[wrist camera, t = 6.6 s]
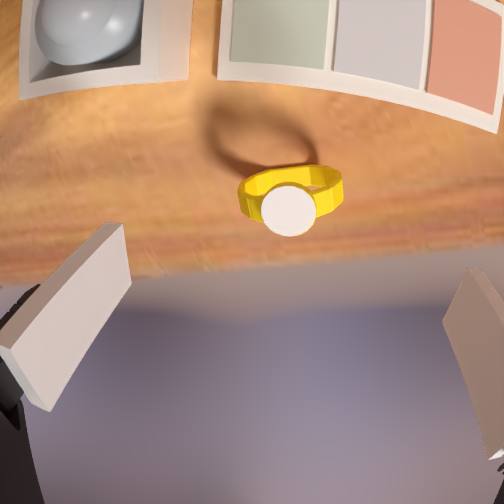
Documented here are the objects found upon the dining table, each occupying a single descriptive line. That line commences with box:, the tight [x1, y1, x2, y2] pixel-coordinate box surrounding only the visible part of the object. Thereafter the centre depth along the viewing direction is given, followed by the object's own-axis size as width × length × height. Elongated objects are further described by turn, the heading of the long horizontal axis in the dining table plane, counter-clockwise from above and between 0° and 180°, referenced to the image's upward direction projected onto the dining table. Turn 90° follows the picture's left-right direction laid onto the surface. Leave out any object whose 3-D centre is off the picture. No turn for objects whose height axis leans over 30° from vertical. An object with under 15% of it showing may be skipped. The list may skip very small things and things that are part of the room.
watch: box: [238, 164, 344, 236], centre depth 18 cm, size 6×3×6 cm, turn 101°
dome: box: [35, 0, 144, 65], centre depth 12 cm, size 7×7×5 cm
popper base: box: [19, 0, 193, 100], centre depth 14 cm, size 10×10×5 cm
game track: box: [217, 0, 504, 134], centre depth 14 cm, size 19×10×1 cm, turn 86°
